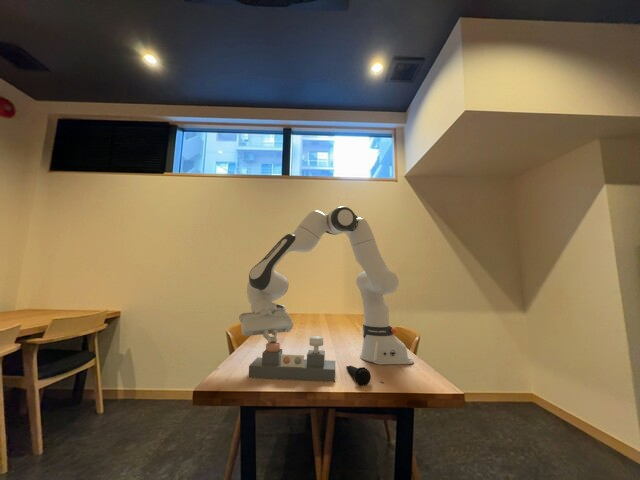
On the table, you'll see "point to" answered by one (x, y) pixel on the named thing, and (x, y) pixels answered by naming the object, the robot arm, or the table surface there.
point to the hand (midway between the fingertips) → (272, 342)
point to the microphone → (360, 374)
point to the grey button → (316, 343)
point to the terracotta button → (272, 347)
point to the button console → (293, 367)
